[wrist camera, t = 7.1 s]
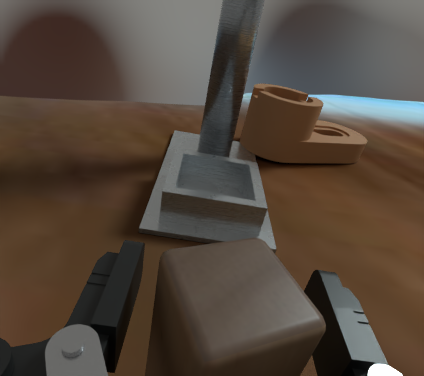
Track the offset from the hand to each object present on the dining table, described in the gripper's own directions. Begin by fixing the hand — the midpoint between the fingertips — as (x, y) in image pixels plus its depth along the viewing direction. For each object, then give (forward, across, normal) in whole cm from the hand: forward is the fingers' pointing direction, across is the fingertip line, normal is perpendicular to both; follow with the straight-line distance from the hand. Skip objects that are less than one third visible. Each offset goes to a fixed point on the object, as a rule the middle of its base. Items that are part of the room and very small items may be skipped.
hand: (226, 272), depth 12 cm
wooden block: (-2, 0, +6) cm, 7 cm away
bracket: (+31, -12, +6) cm, 34 cm away
